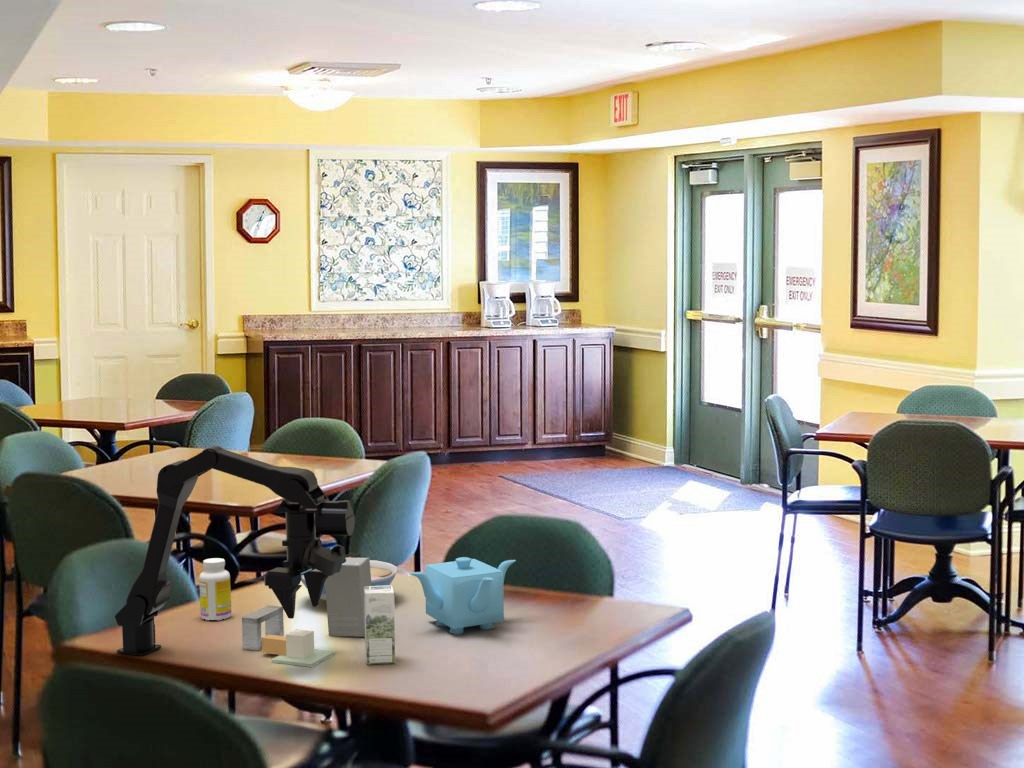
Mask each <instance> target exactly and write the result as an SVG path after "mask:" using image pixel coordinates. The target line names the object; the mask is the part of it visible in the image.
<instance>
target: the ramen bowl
mask: <svg viewBox="0 0 1024 768" xmlns="http://www.w3.org/2000/svg"><path fill="white" fill-rule="evenodd" d="M345 555H346V557H345V558H361V553H356V554H355V552H351V553H349V554H345ZM370 572H371V585H372V586H386V585H391V584H392V582H393V581H394V579H395V577H396V575H397V572H398V567H397V566H396V565H394V564H392V563H390V562H386V561H381V560H376V559H375V560H374V559H373V560H371V559H370ZM300 582H301V583H302V585H303V586H304V587H305V588H306V589H307V586H306V582H305V578H304V574H302V575H301V581H300ZM320 600H324V601H326V590H325V584H324V587H323V590H322V594H321V598H320Z"/></svg>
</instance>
